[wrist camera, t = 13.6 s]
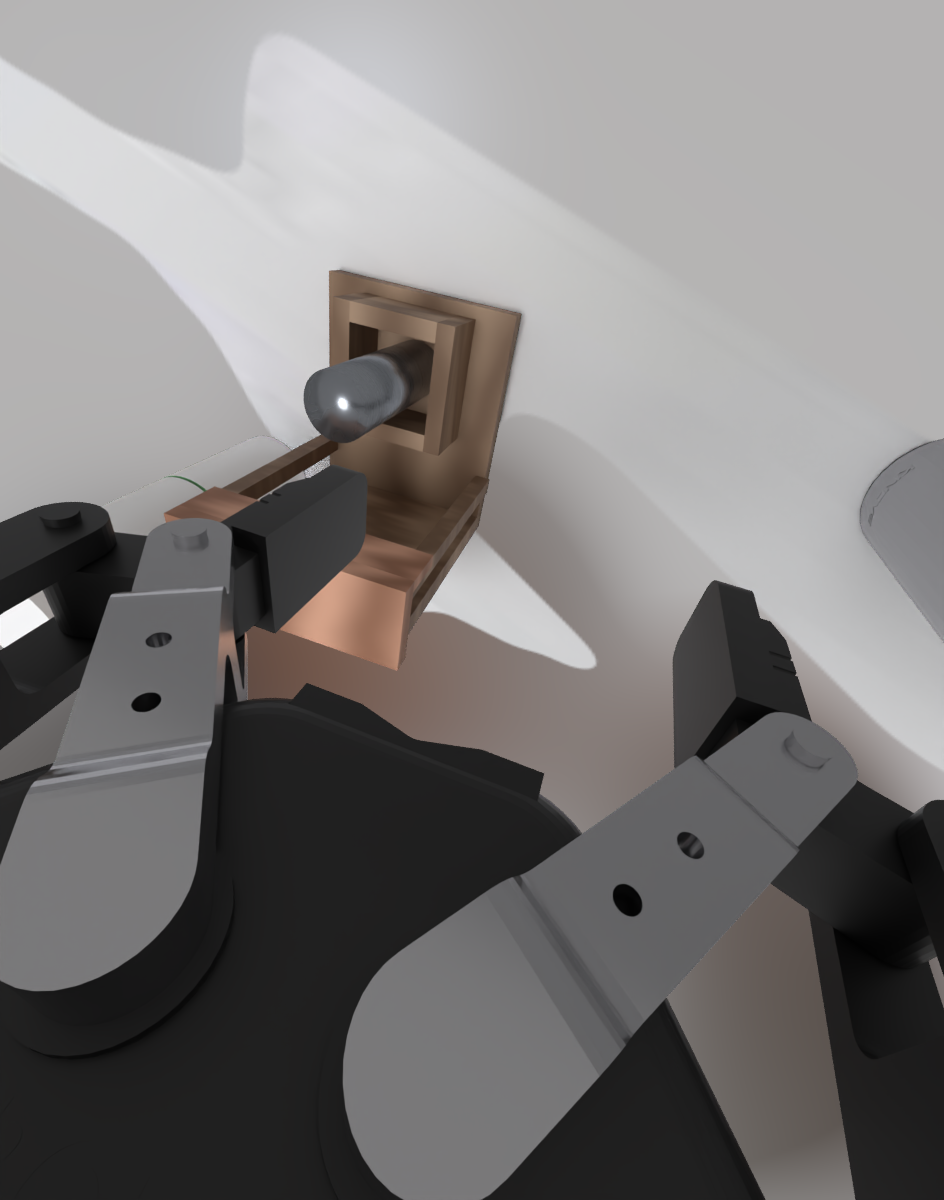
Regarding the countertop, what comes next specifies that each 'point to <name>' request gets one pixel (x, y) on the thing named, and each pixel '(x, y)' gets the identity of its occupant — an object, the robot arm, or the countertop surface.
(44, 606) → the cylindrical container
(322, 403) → the steel peg
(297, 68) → the countertop surface
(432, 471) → the wooden frame stand
